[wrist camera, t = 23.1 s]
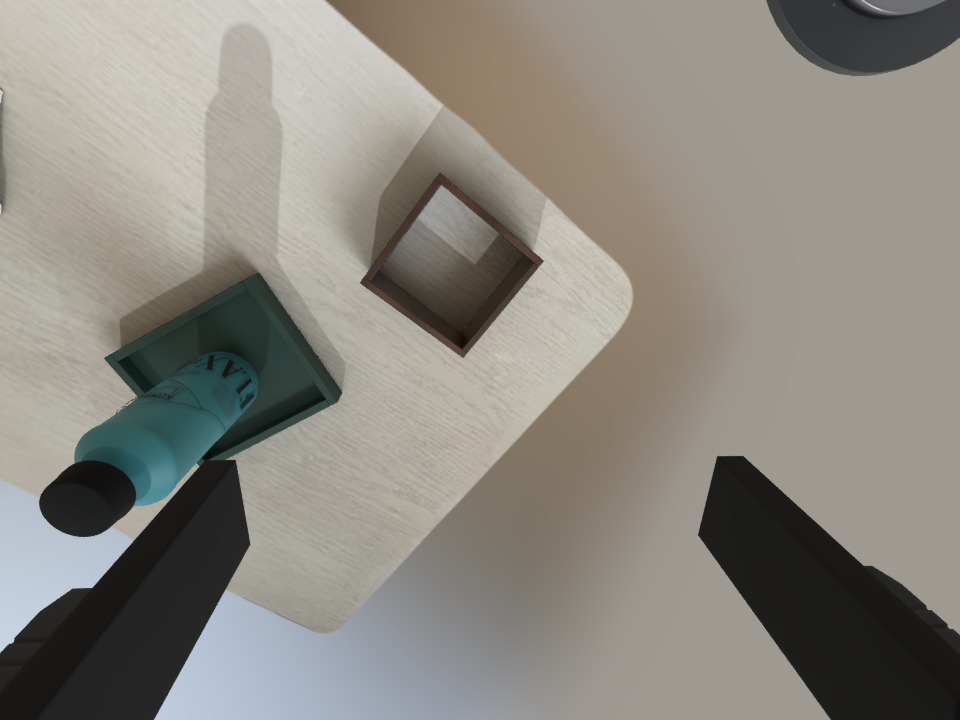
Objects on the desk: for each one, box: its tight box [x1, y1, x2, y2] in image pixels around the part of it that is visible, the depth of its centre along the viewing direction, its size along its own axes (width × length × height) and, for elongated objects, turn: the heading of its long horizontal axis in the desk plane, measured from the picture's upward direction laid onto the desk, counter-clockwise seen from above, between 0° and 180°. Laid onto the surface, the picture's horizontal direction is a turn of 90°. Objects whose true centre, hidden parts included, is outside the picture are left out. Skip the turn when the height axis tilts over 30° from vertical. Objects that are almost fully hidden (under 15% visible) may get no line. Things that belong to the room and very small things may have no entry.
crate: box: [360, 173, 543, 358], centre depth 41 cm, size 11×11×5 cm
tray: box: [104, 273, 342, 466], centre depth 44 cm, size 16×14×2 cm
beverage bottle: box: [39, 351, 259, 537], centre depth 35 cm, size 6×7×20 cm
